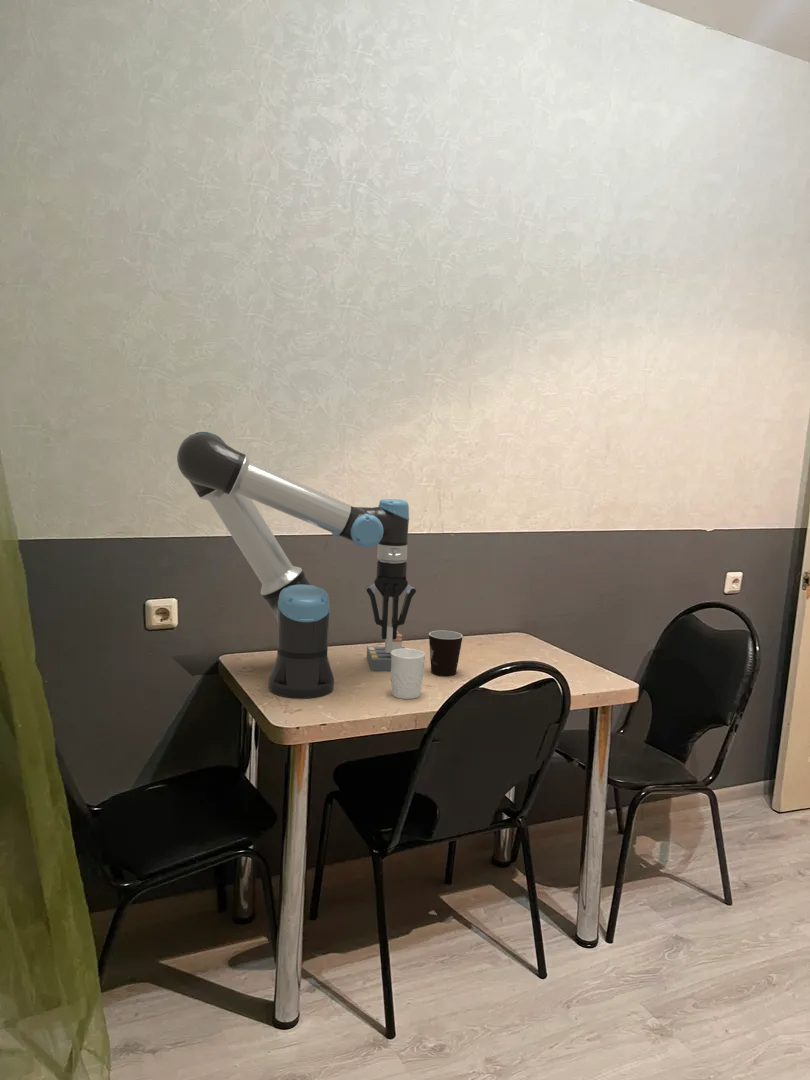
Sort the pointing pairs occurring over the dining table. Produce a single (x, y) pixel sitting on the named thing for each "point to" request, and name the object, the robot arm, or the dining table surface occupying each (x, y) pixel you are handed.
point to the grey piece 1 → (396, 643)
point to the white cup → (406, 673)
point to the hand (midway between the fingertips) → (388, 651)
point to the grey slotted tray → (379, 659)
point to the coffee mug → (444, 652)
